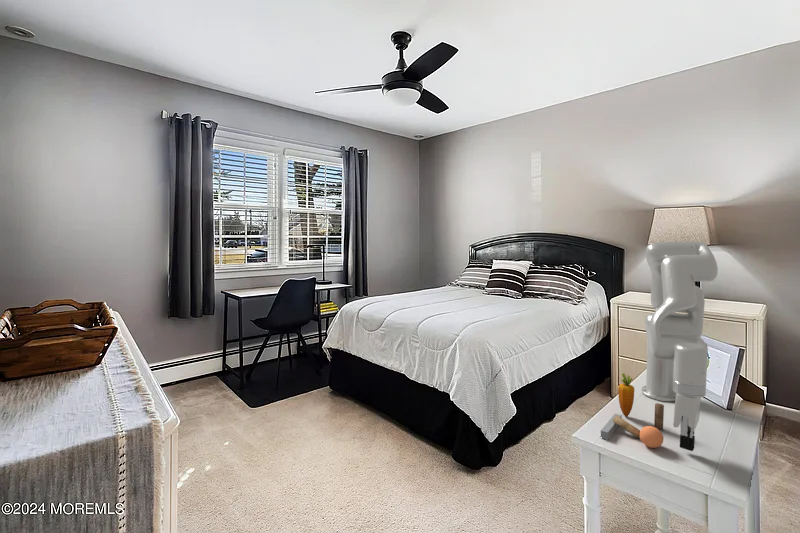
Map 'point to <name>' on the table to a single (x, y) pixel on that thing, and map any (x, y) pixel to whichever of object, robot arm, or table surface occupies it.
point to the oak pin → (627, 426)
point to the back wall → (609, 428)
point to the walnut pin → (659, 416)
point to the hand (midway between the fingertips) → (686, 448)
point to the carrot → (626, 395)
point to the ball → (651, 436)
